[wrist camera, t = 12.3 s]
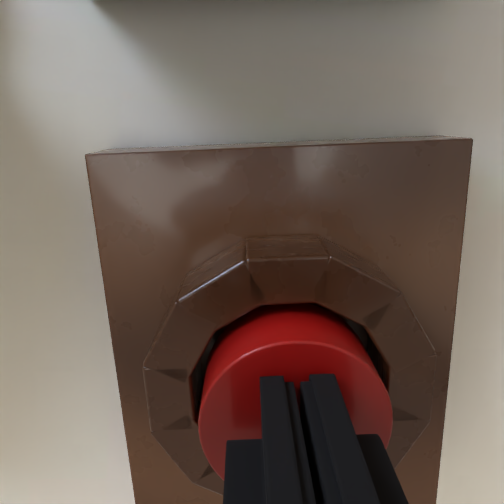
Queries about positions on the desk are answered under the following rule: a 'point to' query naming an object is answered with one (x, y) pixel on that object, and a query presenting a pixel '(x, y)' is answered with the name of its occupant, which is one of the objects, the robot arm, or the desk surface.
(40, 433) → the desk surface
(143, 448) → the button block
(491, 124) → the desk surface
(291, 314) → the button
